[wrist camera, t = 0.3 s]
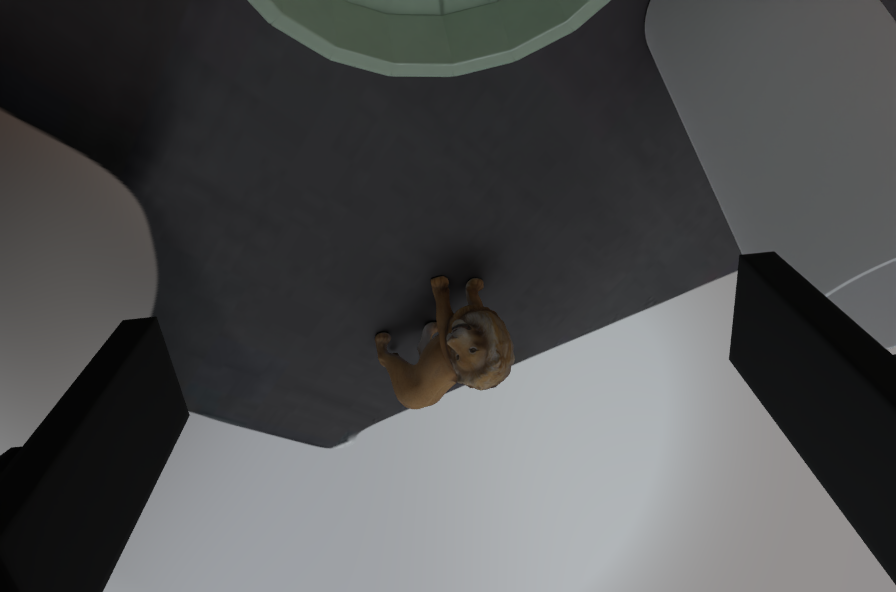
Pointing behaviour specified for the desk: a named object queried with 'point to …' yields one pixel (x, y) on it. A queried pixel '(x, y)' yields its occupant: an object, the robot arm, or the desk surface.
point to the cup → (795, 134)
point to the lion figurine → (451, 350)
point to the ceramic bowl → (426, 31)
